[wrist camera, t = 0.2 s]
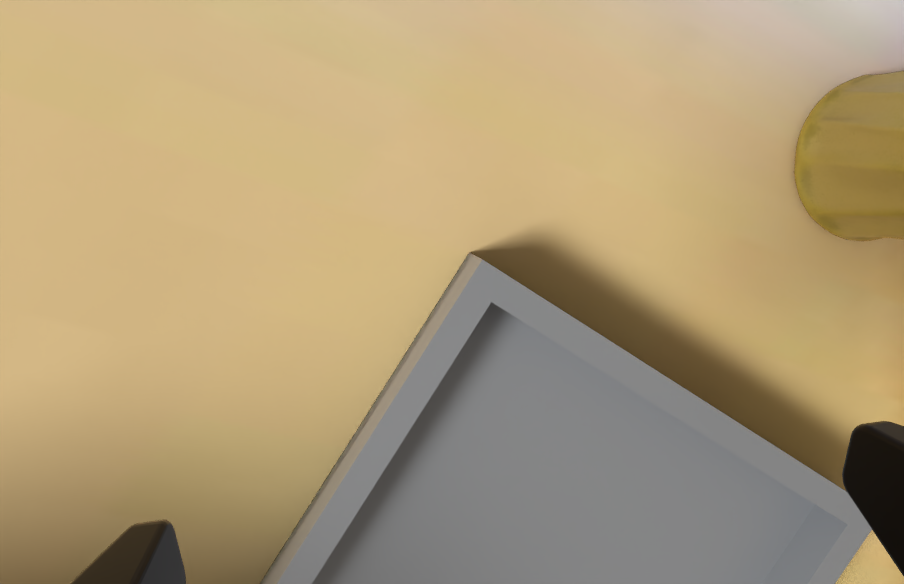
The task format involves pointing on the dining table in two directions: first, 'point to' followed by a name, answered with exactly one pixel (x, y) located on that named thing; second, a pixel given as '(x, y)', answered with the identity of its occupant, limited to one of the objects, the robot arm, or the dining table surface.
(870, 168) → the vase
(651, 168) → the dining table surface
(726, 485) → the tray
